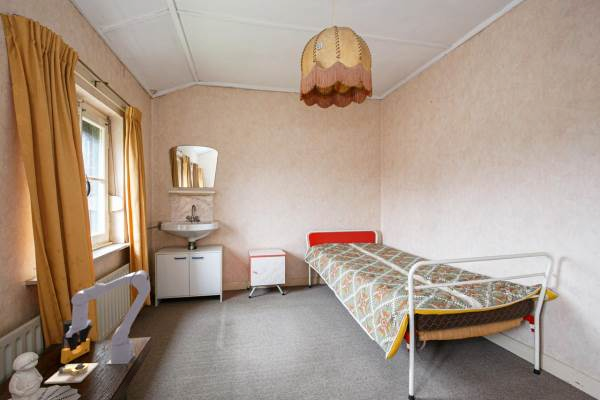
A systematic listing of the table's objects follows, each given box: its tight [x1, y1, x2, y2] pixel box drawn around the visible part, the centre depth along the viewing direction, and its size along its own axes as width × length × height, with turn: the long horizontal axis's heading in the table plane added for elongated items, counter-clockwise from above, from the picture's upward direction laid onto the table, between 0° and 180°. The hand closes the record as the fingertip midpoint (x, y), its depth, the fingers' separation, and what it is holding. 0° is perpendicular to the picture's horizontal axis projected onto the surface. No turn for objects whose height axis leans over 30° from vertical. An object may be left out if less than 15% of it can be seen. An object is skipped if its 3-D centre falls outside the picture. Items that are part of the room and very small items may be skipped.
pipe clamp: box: [60, 337, 91, 365], centre depth 135 cm, size 12×4×6 cm, turn 169°
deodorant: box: [61, 319, 78, 351], centre depth 140 cm, size 6×6×15 cm
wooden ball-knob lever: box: [58, 363, 88, 375], centre depth 121 cm, size 11×6×2 cm, turn 98°
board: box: [44, 362, 100, 385], centre depth 121 cm, size 14×13×4 cm
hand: (78, 345), depth 127 cm, fingers open, 6 cm apart
